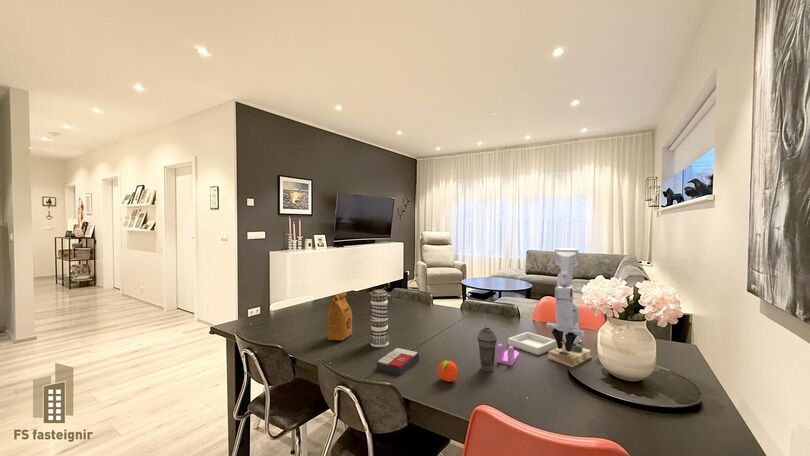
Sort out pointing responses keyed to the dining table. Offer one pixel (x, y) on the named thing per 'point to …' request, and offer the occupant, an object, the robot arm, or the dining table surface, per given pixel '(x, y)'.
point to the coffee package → (339, 318)
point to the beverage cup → (487, 347)
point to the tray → (532, 343)
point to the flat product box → (398, 361)
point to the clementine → (447, 371)
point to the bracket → (506, 355)
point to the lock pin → (564, 347)
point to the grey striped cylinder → (379, 318)
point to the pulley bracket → (570, 355)
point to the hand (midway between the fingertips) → (564, 349)
